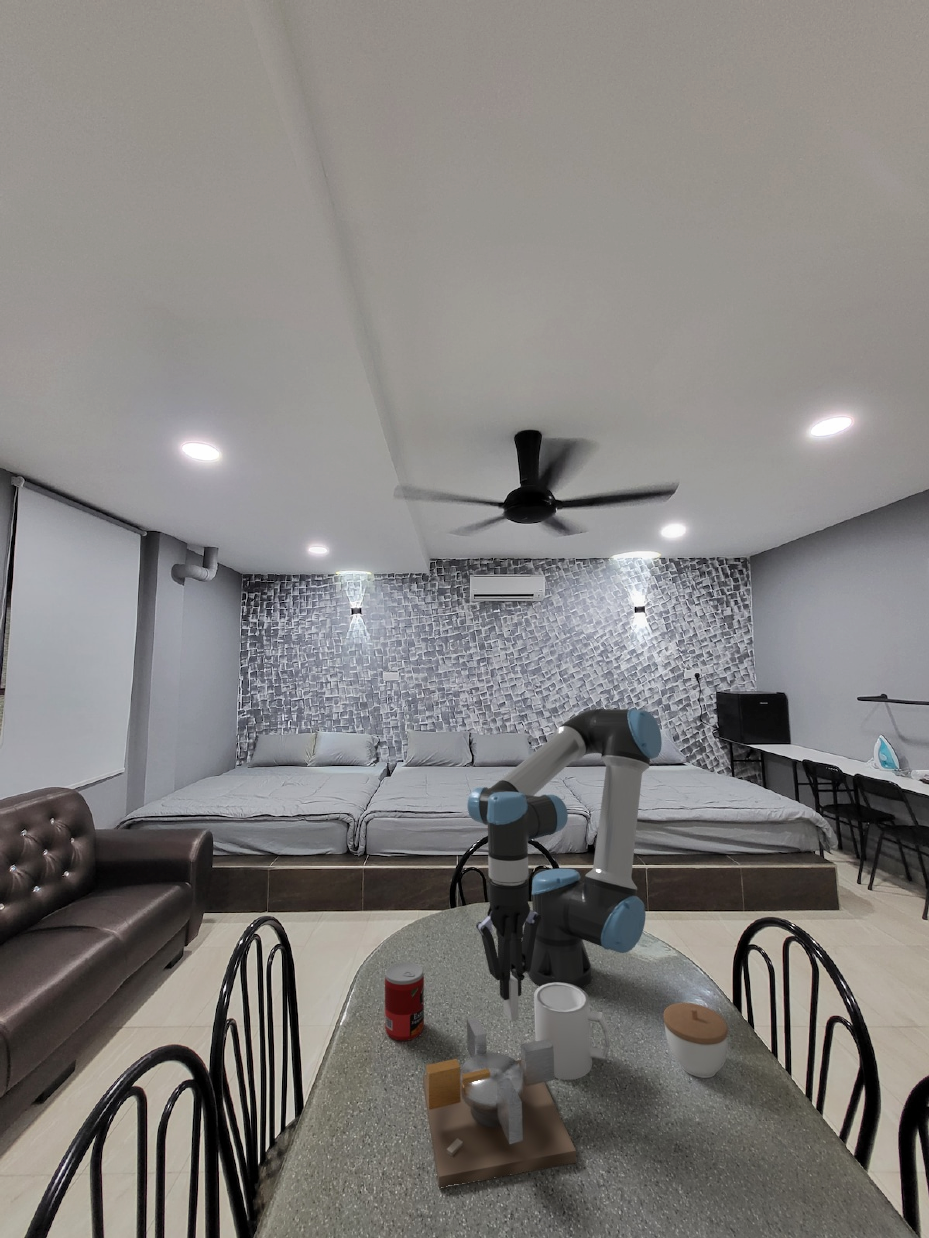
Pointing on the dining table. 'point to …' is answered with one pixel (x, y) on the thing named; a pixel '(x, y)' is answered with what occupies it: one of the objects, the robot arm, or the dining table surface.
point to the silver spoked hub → (490, 1079)
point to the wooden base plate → (497, 1139)
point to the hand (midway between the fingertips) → (511, 1015)
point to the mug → (568, 1028)
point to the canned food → (404, 1001)
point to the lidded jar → (696, 1038)
